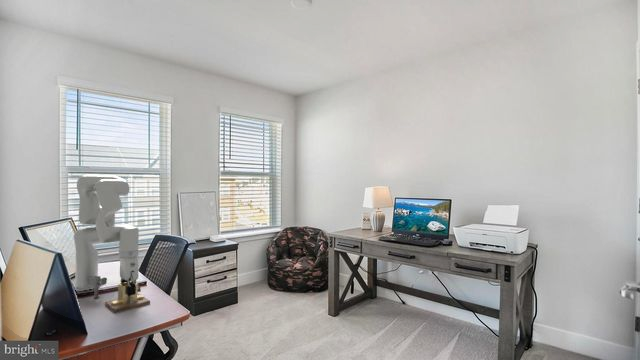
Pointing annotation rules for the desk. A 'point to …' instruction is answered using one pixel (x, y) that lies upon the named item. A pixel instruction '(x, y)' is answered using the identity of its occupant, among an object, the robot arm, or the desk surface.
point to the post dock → (127, 306)
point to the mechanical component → (96, 283)
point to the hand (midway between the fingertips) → (127, 292)
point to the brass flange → (125, 294)
